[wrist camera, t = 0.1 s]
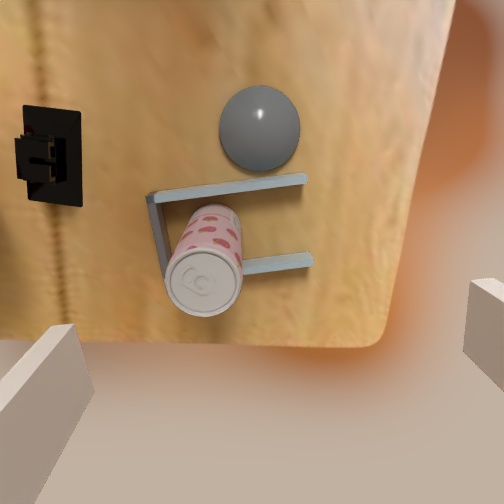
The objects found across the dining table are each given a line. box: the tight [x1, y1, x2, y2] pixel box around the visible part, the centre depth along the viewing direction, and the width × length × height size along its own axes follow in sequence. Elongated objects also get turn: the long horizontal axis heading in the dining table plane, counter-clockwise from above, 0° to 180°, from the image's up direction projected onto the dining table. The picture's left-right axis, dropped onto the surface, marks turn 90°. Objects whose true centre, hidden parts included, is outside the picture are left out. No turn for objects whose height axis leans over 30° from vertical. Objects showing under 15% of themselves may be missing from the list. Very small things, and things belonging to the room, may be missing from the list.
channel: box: [145, 172, 314, 283], centre depth 39 cm, size 10×16×2 cm, turn 97°
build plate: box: [15, 105, 83, 207], centre depth 35 cm, size 12×7×5 cm, turn 172°
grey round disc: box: [219, 86, 300, 171], centre depth 36 cm, size 8×8×1 cm
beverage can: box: [165, 204, 243, 317], centre depth 33 cm, size 6×6×15 cm
